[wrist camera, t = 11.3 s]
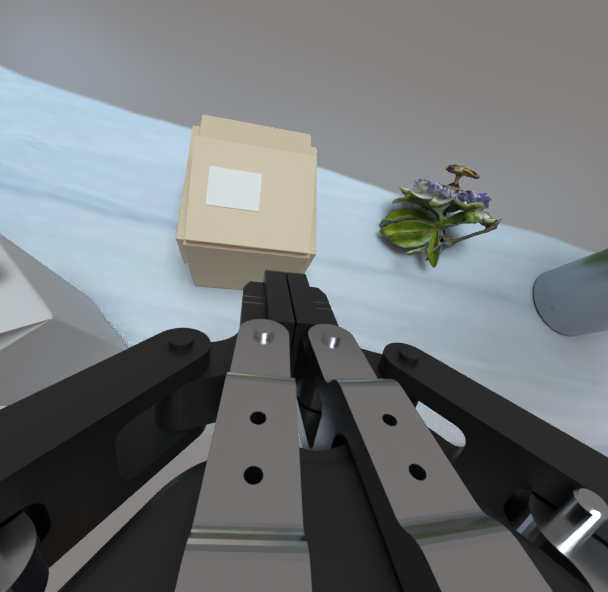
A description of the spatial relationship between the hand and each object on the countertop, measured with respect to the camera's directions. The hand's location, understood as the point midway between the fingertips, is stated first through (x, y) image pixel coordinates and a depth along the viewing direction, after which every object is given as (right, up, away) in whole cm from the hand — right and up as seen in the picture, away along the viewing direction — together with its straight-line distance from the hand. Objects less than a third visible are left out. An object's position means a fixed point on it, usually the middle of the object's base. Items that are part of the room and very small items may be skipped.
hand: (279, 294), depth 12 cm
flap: (-3, +8, +14) cm, 16 cm away
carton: (-6, +6, +25) cm, 26 cm away
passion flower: (+16, +8, +31) cm, 36 cm away
